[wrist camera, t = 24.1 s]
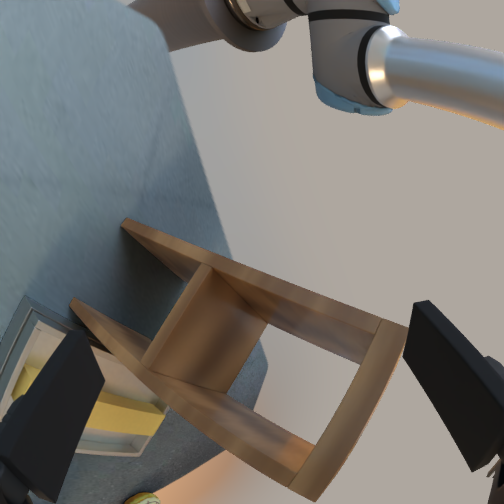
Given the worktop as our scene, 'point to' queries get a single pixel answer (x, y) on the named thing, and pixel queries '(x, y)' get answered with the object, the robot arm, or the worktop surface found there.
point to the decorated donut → (143, 499)
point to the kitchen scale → (39, 351)
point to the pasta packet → (107, 409)
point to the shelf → (238, 350)
